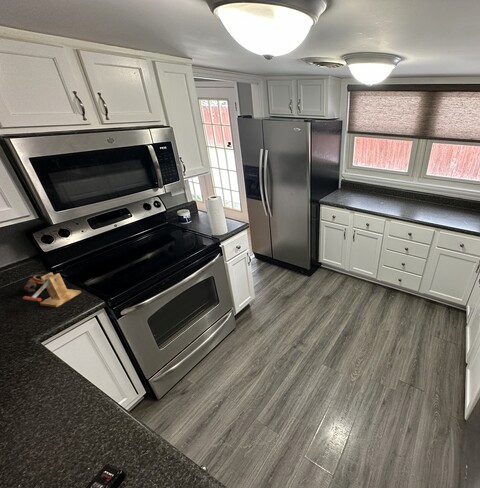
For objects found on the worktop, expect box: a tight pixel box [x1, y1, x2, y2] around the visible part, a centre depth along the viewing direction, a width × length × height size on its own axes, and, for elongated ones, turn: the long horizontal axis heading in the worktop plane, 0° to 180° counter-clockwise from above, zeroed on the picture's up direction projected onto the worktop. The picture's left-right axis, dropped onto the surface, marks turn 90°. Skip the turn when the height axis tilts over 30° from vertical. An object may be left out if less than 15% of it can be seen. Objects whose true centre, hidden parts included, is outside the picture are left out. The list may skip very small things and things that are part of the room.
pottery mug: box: [23, 273, 45, 293], centre depth 136 cm, size 12×10×8 cm
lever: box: [22, 274, 54, 302], centre depth 123 cm, size 13×8×2 cm, turn 172°
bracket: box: [39, 272, 82, 308], centre depth 128 cm, size 12×9×14 cm
